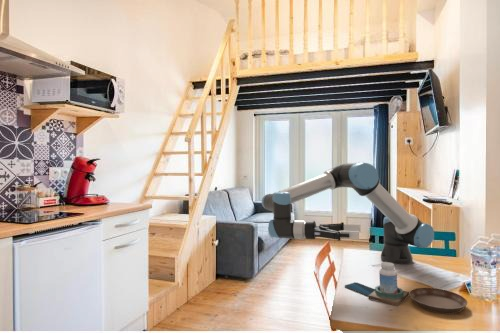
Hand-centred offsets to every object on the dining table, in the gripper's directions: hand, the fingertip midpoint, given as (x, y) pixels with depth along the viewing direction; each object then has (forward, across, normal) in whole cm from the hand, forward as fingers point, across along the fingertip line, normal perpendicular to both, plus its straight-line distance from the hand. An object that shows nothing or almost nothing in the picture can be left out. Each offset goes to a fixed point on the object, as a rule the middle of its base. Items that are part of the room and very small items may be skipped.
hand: (359, 231), depth 124 cm
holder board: (+10, 0, -24) cm, 26 cm away
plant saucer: (+25, +2, -25) cm, 36 cm away
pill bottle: (+10, 0, -23) cm, 25 cm away
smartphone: (+1, -4, -25) cm, 25 cm away
